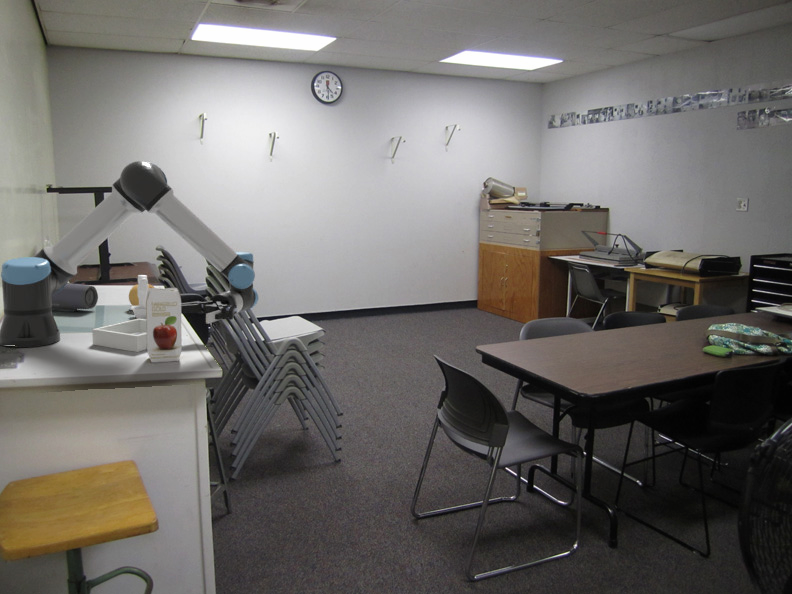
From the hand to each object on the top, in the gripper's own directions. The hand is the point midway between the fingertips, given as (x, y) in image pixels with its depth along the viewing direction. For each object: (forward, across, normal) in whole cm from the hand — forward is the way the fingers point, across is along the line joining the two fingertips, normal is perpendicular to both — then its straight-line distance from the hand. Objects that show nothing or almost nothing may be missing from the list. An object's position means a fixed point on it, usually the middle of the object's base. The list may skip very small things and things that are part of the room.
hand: (185, 316), depth 168 cm
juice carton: (+10, 0, -10) cm, 14 cm away
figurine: (-32, +39, -10) cm, 51 cm away
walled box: (-3, +18, -10) cm, 21 cm away
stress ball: (-44, +48, -10) cm, 66 cm away
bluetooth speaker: (-30, +71, -10) cm, 78 cm away
